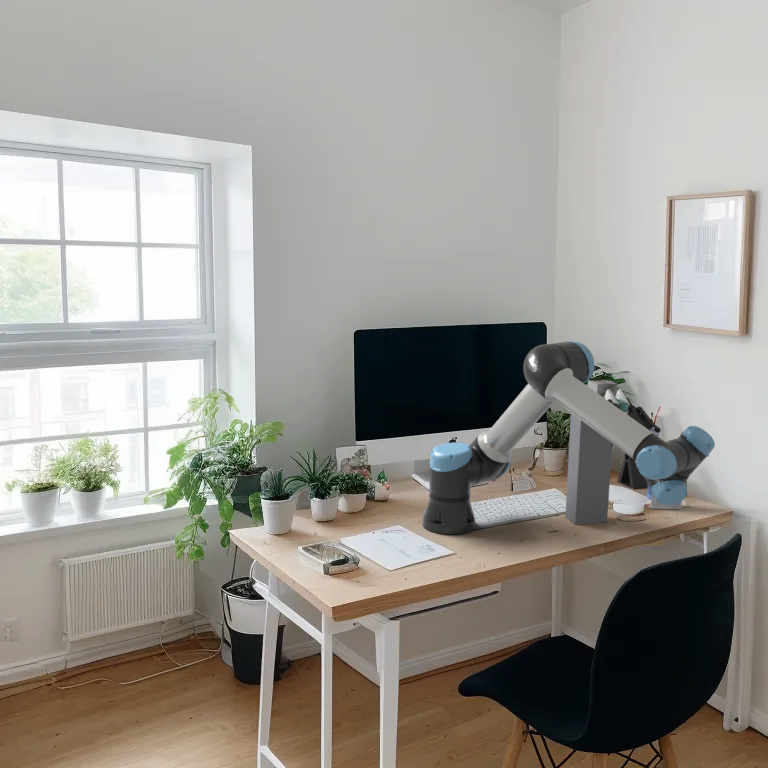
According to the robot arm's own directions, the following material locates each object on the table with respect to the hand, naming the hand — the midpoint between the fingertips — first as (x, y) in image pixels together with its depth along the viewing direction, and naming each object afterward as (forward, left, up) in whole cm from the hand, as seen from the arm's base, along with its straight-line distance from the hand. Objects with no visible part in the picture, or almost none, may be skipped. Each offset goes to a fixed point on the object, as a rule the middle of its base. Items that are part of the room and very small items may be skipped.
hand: (612, 393), depth 215 cm
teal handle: (0, +1, -4) cm, 4 cm away
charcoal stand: (0, +11, -40) cm, 42 cm away
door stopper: (+32, +44, -40) cm, 68 cm away
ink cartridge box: (+30, +20, -40) cm, 54 cm away
